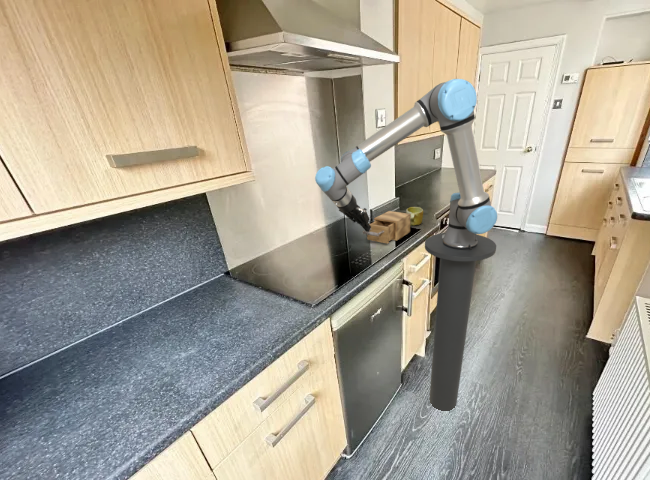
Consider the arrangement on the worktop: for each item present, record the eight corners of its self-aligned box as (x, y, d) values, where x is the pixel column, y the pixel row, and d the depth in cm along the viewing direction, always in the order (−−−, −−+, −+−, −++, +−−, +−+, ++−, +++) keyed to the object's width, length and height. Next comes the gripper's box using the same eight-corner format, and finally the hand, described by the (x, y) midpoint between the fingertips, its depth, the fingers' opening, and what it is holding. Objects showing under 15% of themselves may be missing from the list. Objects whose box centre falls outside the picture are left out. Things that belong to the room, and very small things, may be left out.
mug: (407, 216, 183) (411, 201, 176) (423, 223, 180) (428, 208, 173) (398, 226, 175) (402, 210, 168) (414, 233, 172) (419, 218, 165)
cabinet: (396, 240, 154) (396, 221, 149) (374, 236, 160) (374, 218, 155) (410, 232, 164) (410, 213, 160) (389, 228, 171) (388, 210, 166)
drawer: (380, 248, 144) (380, 231, 140) (360, 244, 149) (359, 228, 145) (401, 235, 158) (401, 219, 154) (381, 231, 164) (381, 217, 160)
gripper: (326, 206, 124) (353, 234, 144) (353, 209, 118) (378, 238, 138) (334, 189, 126) (359, 219, 146) (361, 192, 119) (384, 223, 139)
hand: (368, 229), depth 142 cm, fingers closed
